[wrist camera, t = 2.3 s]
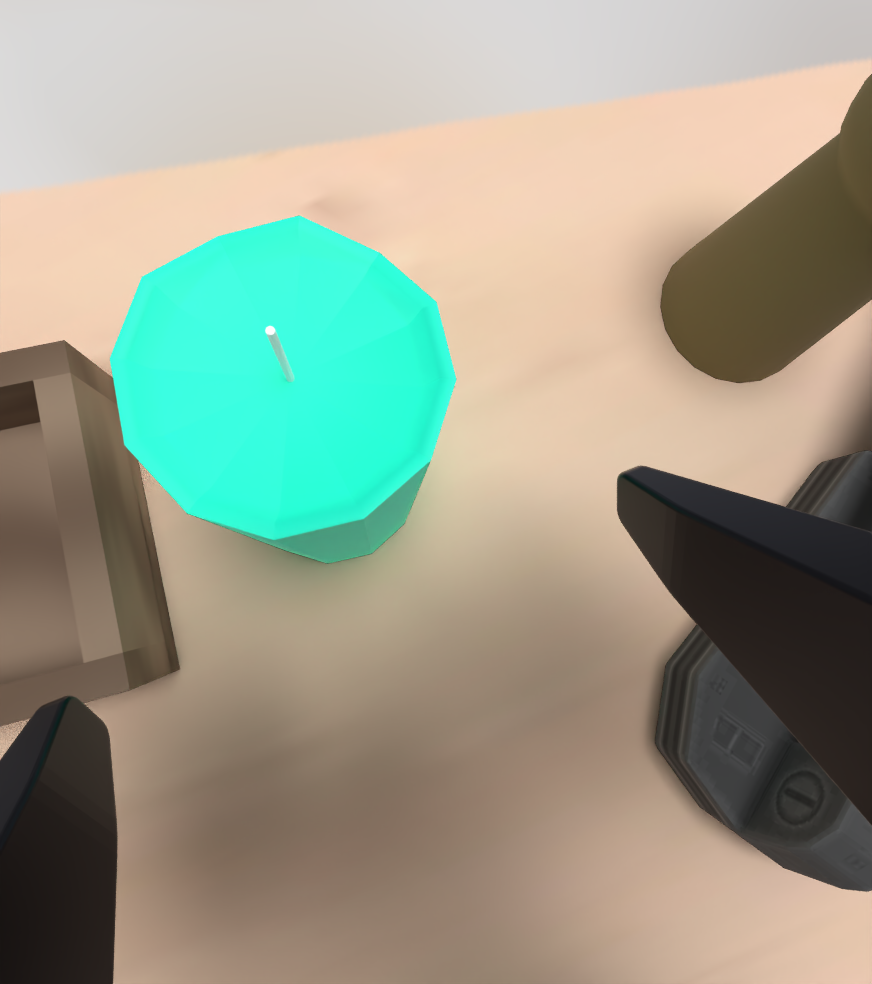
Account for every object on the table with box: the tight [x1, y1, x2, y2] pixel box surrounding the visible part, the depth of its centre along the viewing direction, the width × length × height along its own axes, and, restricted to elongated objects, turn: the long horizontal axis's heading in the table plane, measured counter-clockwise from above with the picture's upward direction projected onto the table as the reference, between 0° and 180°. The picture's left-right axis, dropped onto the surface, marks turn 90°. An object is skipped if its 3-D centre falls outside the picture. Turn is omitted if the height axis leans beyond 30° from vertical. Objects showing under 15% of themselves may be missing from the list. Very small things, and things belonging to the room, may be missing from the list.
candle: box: [110, 216, 456, 564], centre depth 14 cm, size 6×6×12 cm
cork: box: [661, 74, 872, 383], centre depth 18 cm, size 6×6×11 cm
